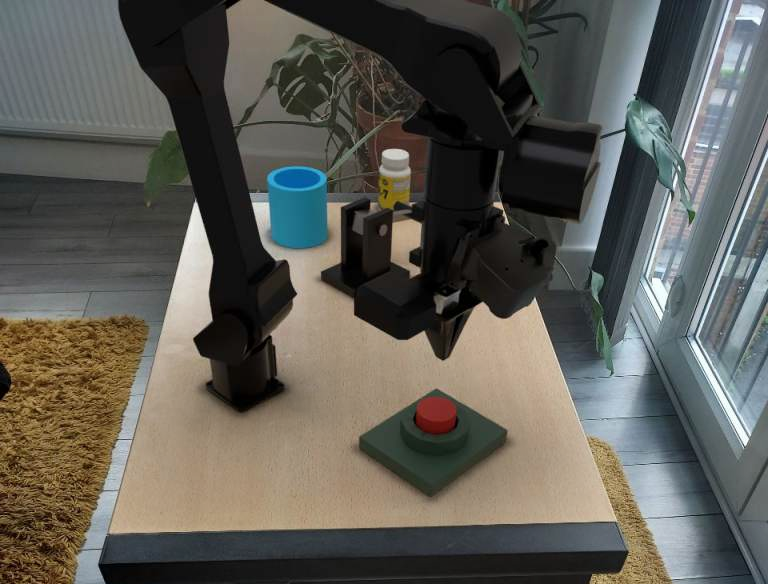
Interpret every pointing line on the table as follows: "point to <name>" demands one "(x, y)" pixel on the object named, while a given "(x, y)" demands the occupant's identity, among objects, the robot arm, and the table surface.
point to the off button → (436, 415)
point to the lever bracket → (363, 249)
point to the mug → (298, 206)
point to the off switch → (432, 445)
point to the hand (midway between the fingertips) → (442, 357)
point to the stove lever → (400, 214)
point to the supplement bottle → (394, 179)
